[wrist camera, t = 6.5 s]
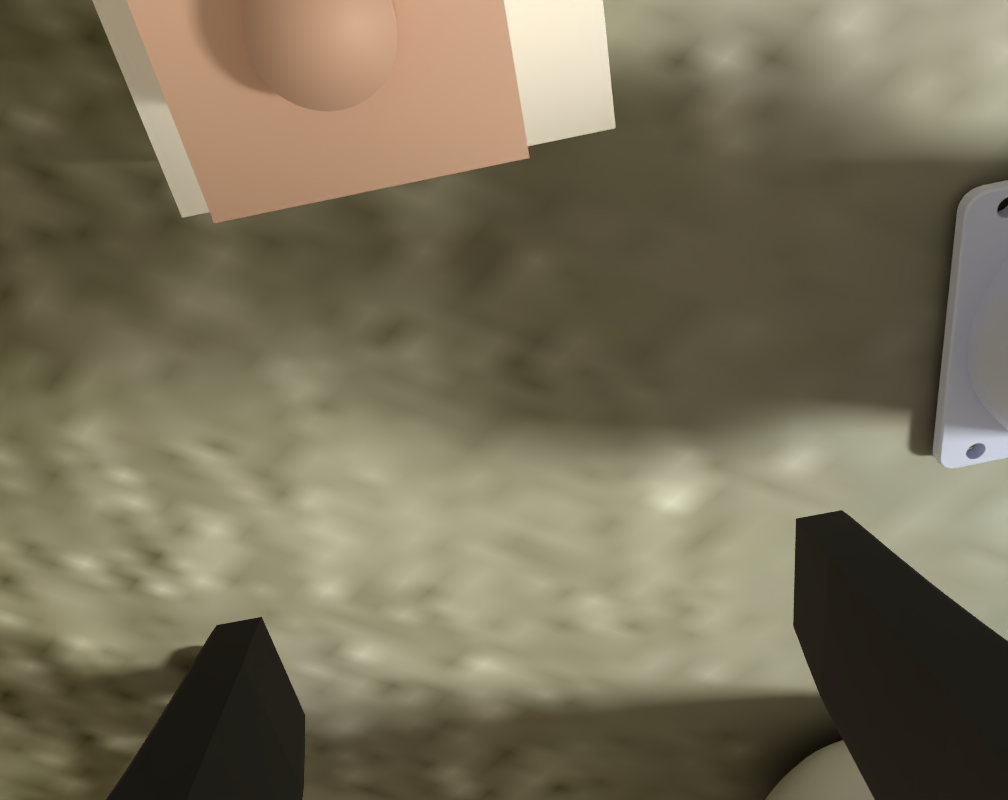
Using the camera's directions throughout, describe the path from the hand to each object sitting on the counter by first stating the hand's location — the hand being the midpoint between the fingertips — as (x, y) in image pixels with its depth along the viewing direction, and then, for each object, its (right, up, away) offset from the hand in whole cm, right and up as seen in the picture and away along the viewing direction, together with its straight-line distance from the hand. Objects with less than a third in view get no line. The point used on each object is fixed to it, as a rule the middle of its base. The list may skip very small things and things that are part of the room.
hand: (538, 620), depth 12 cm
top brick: (-3, +10, +2) cm, 11 cm away
